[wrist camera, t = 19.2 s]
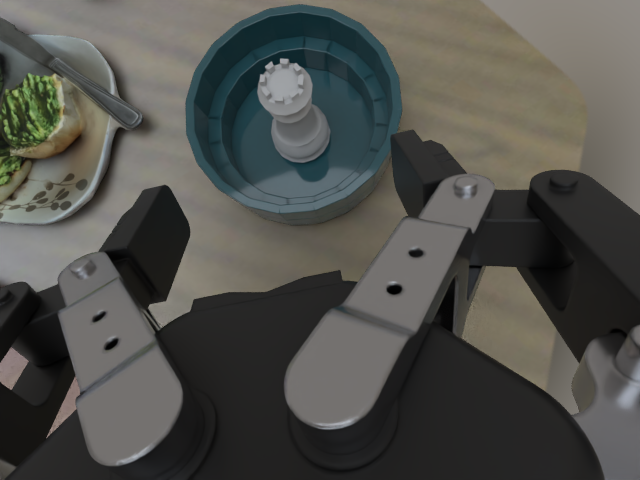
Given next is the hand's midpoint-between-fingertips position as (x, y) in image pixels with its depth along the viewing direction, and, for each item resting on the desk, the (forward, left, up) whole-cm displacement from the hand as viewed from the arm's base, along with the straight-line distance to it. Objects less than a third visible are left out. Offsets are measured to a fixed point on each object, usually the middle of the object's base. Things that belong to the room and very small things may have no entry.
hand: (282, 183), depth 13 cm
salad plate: (-27, +3, -15) cm, 31 cm away
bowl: (-3, +7, -15) cm, 17 cm away
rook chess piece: (-3, +7, -14) cm, 16 cm away
